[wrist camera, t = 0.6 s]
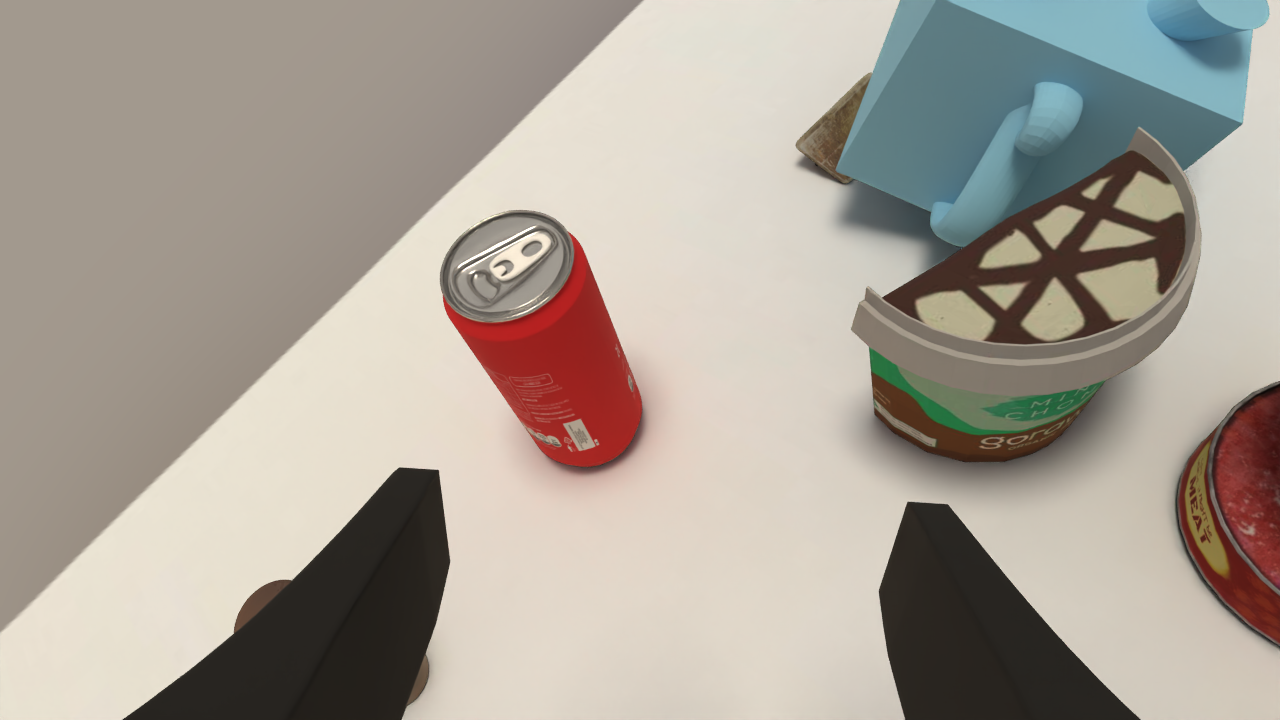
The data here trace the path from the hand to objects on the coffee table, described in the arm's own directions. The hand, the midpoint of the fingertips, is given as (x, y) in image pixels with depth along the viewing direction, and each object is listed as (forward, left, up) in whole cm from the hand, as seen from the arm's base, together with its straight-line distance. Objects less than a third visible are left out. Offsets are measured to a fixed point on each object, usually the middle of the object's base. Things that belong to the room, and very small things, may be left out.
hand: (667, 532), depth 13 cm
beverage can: (+11, +9, -20) cm, 25 cm away
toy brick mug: (+29, -12, -7) cm, 32 cm away
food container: (+13, -9, -20) cm, 26 cm away
